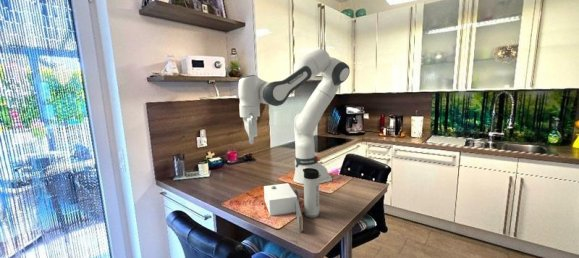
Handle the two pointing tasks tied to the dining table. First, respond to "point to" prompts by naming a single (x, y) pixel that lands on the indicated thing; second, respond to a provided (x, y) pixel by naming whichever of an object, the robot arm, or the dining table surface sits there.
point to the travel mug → (311, 192)
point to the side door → (298, 215)
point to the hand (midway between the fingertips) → (251, 143)
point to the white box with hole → (280, 199)
